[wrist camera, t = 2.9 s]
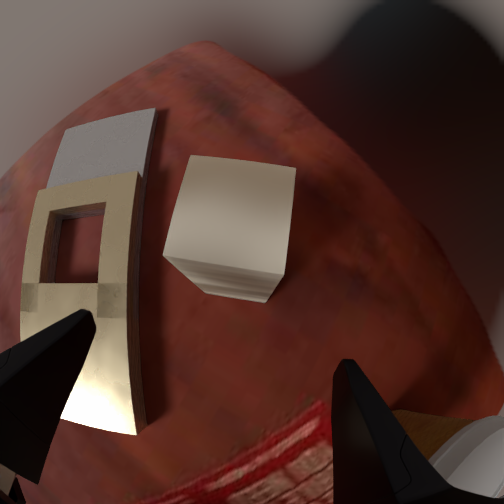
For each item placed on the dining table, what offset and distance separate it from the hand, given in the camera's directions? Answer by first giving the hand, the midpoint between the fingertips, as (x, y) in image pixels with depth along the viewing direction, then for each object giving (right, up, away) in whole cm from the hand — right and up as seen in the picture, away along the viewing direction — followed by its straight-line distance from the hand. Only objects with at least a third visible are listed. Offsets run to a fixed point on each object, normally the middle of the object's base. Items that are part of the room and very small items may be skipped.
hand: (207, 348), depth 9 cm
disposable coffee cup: (+13, -13, +9) cm, 21 cm away
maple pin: (+1, +2, +13) cm, 13 cm away
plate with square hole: (-14, +3, +13) cm, 19 cm away
